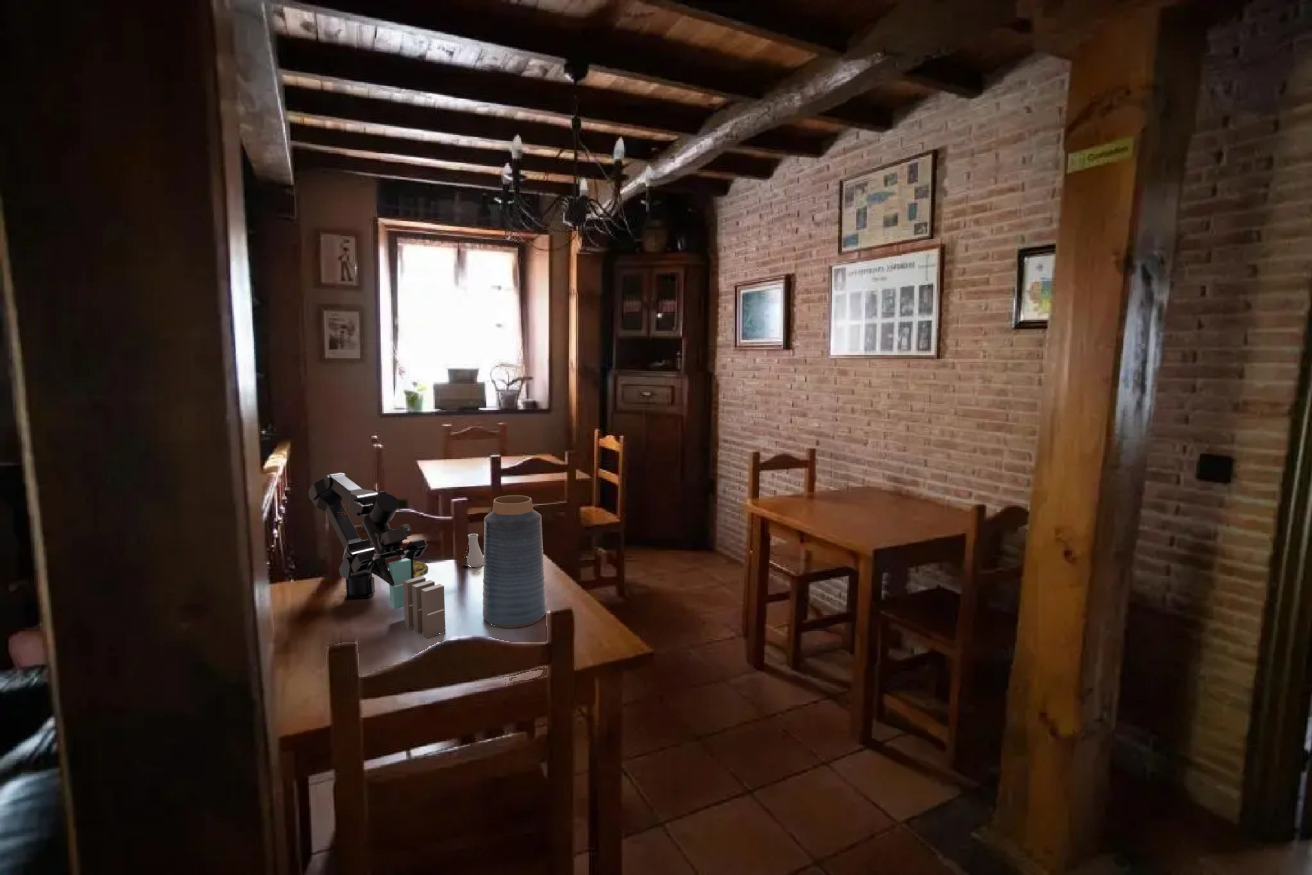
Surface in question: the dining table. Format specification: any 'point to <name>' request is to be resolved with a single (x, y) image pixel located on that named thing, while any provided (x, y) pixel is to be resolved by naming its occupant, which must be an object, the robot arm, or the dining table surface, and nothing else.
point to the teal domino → (399, 581)
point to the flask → (474, 552)
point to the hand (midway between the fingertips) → (403, 582)
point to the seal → (419, 568)
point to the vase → (513, 564)
